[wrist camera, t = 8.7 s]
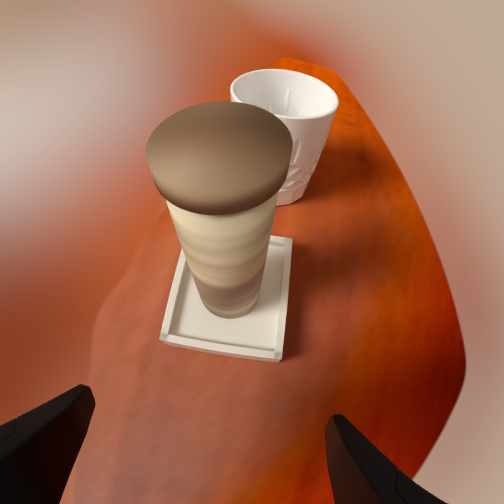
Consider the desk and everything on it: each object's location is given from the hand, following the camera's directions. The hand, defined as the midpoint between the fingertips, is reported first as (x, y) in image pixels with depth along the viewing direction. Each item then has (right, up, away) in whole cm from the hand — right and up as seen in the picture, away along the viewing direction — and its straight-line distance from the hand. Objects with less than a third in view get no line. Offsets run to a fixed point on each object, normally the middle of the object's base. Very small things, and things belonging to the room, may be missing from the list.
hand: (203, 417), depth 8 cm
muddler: (0, +3, +11) cm, 12 cm away
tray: (0, +3, +12) cm, 13 cm away
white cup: (+4, +13, +18) cm, 22 cm away
